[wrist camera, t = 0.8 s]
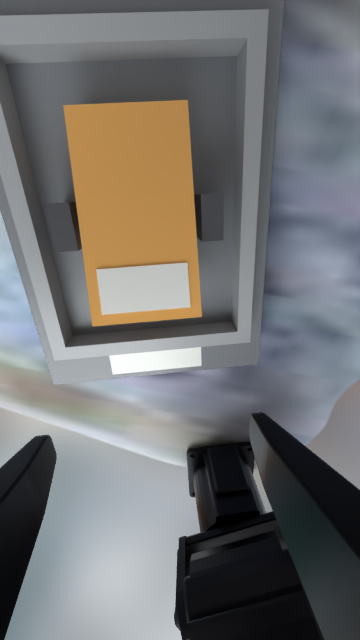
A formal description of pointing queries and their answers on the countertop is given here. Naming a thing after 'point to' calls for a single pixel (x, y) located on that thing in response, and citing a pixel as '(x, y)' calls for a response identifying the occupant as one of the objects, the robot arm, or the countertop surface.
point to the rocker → (135, 209)
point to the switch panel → (207, 166)
